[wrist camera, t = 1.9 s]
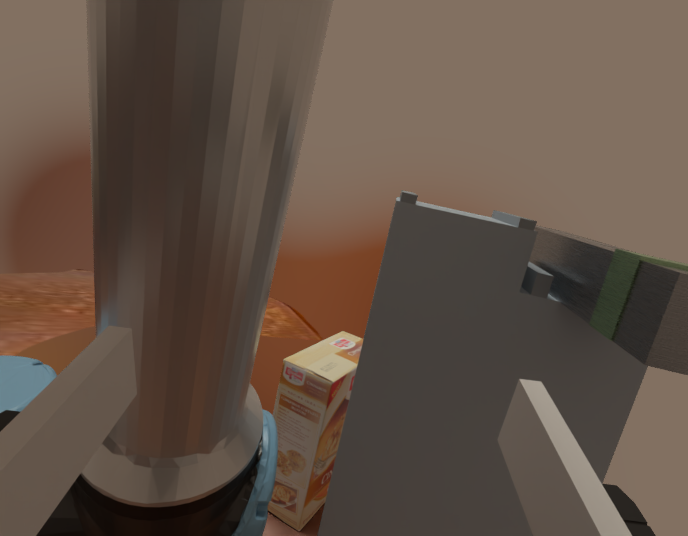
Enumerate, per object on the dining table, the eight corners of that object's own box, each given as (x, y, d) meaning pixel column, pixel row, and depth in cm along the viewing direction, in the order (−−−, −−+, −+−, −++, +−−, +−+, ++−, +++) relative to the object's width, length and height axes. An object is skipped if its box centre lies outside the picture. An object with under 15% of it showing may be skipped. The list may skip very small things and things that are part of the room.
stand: (510, 762, 34) (711, 259, 25) (275, 687, 35) (390, 189, 27) (485, 633, 44) (624, 238, 35) (302, 579, 45) (392, 188, 37)
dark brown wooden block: (747, 389, 18) (791, 292, 17) (642, 364, 18) (679, 267, 17) (549, 272, 41) (563, 229, 40) (505, 262, 41) (518, 219, 41)
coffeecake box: (299, 534, 51) (334, 382, 46) (252, 502, 54) (280, 357, 49) (356, 469, 64) (386, 346, 60) (315, 447, 67) (341, 328, 63)
